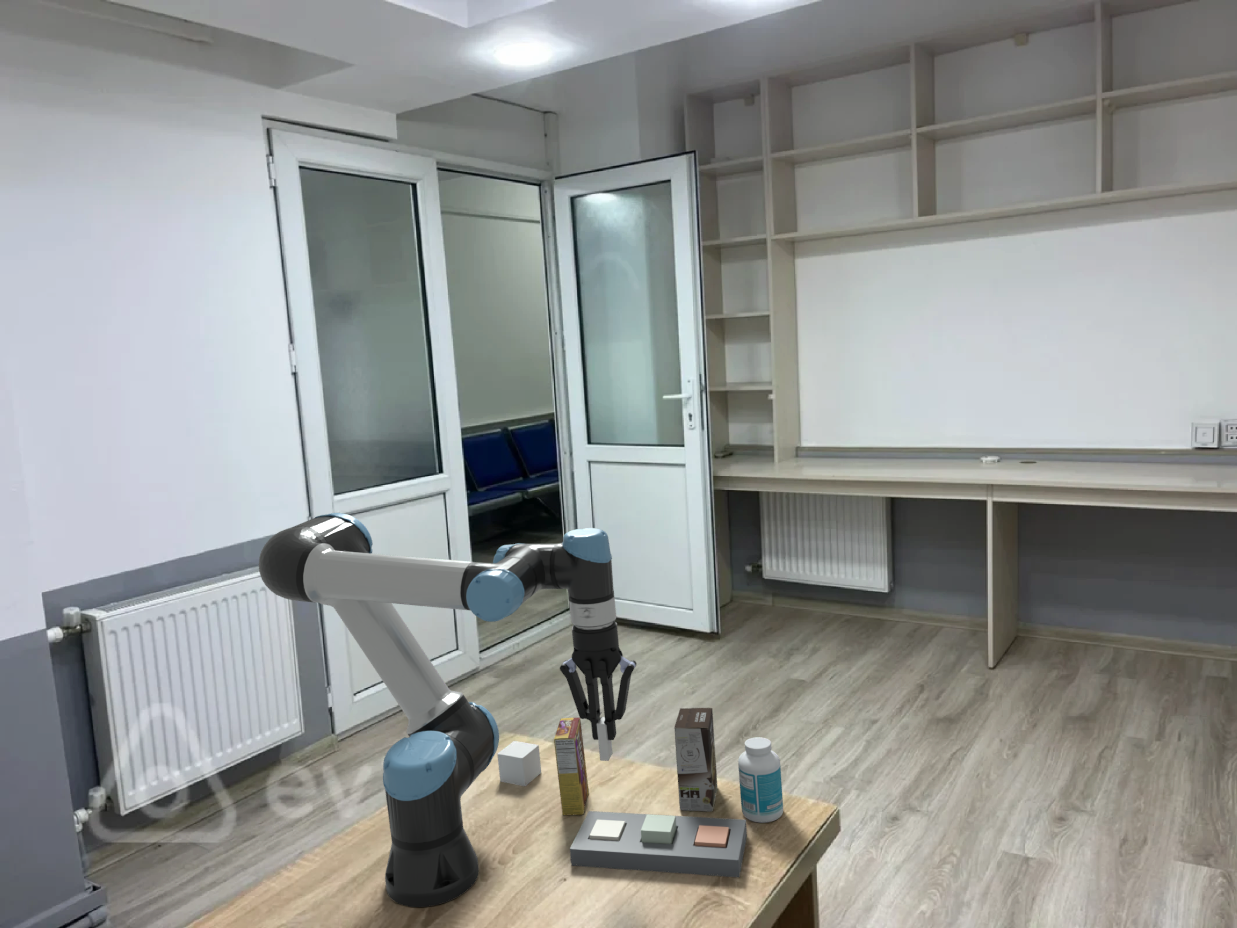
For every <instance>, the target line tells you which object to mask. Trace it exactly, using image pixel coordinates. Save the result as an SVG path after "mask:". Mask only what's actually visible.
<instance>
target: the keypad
mask: <svg viewBox="0 0 1237 928" xmlns="http://www.w3.org/2000/svg"><path fill="white" fill-rule="evenodd" d="M647 814H649V813H636V812H635V813H631V812H618V811H617V812H615V811H612V812H611V811H597V810H588V811H587V814H586V816H585V818H584V819H583V821H582V823H581V825H580V828H579V830H578V832H577V834H576V835H575V838H574V840H573V842H572V844H571V845H570V847H569V853H570V855H569V858H570V865H571V866H574V867H585V868H586V867H587V868H599V869H602V868H603V869H615V870H616V869H617V870H629V871H642V872H655V873H657V872H658V873H669V874H670V873H671V874H687V875H699V876H700V875H701V876H714V877H715V876H716V877H727V878H729V877H730V878H740V877H741V872H742V871H741V870H742V867H743V866H742V864H743V859H744V853H745V848H746V842H747V837H748V832H747V831H748V830H747V820H746V819H744V818H743V819H738V818H725V817H724V818H722V817H721V818H720V817H704V816H688V815H687V816H684V815H683V816H682V815H675V816H676V829H677V832H676V835H675V838H674V841H673V844H658V843H642V840H641V828H642V826H643V823H644V821H645V818H646V815H647ZM649 815H654V814H653V813H652V814H651V813H650V814H649ZM665 815H666V816H672V815H669V814H668V815H667V814H665ZM597 820H614V821H625V830H624V832H623V834H622V837H621V839H620V841H611V840H595V839H590V833H591V831H592V829H593V827H594V825H595V823H596V821H597ZM699 825H701V826H718V827H729V841H728V845H727V848H721V847H706V846H695V839H696V836H697V832H698V829H699Z"/></svg>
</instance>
